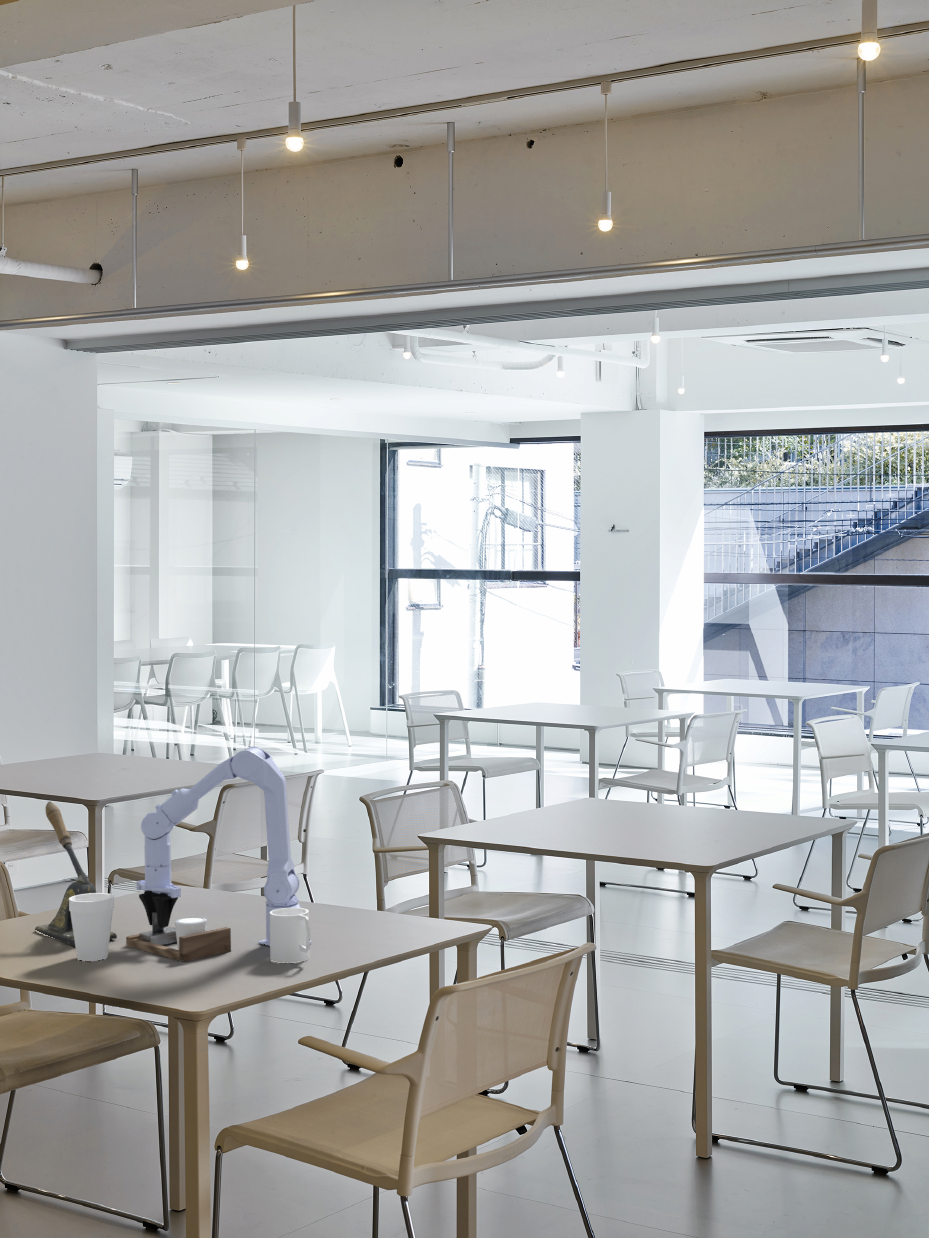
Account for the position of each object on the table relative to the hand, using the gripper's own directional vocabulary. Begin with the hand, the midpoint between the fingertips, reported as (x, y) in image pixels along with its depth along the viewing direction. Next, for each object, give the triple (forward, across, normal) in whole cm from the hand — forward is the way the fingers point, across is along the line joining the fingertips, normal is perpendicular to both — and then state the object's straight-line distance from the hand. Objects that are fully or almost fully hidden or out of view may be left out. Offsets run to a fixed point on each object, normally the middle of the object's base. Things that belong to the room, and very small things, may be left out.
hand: (158, 925), depth 313 cm
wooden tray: (+4, +7, 0) cm, 8 cm away
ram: (+4, +1, 0) cm, 4 cm away
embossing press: (+4, -22, -8) cm, 24 cm away
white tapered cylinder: (+4, +12, 0) cm, 13 cm away
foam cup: (+4, 0, -17) cm, 17 cm away
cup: (+4, +35, +10) cm, 37 cm away
